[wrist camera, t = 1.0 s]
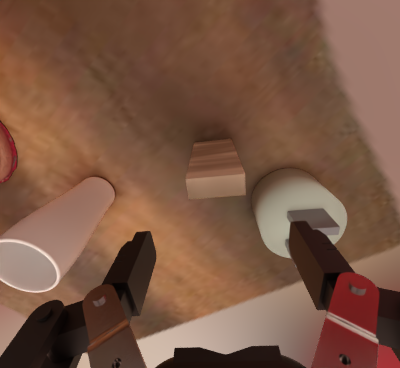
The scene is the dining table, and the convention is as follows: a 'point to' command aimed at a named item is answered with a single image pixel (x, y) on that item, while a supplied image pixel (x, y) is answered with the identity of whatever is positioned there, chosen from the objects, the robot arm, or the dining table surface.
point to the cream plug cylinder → (295, 208)
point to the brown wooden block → (215, 170)
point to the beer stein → (6, 154)
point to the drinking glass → (53, 236)
